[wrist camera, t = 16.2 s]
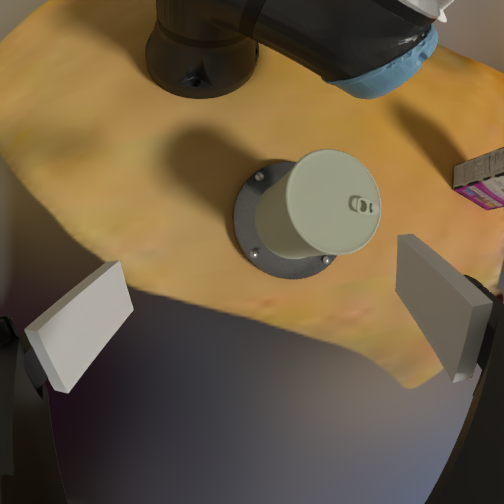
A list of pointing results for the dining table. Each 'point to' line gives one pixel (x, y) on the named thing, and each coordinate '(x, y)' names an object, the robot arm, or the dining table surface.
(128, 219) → the dining table surface
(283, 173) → the flange plate
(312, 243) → the can
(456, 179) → the candy bar box
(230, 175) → the dining table surface
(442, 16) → the champagne flute
